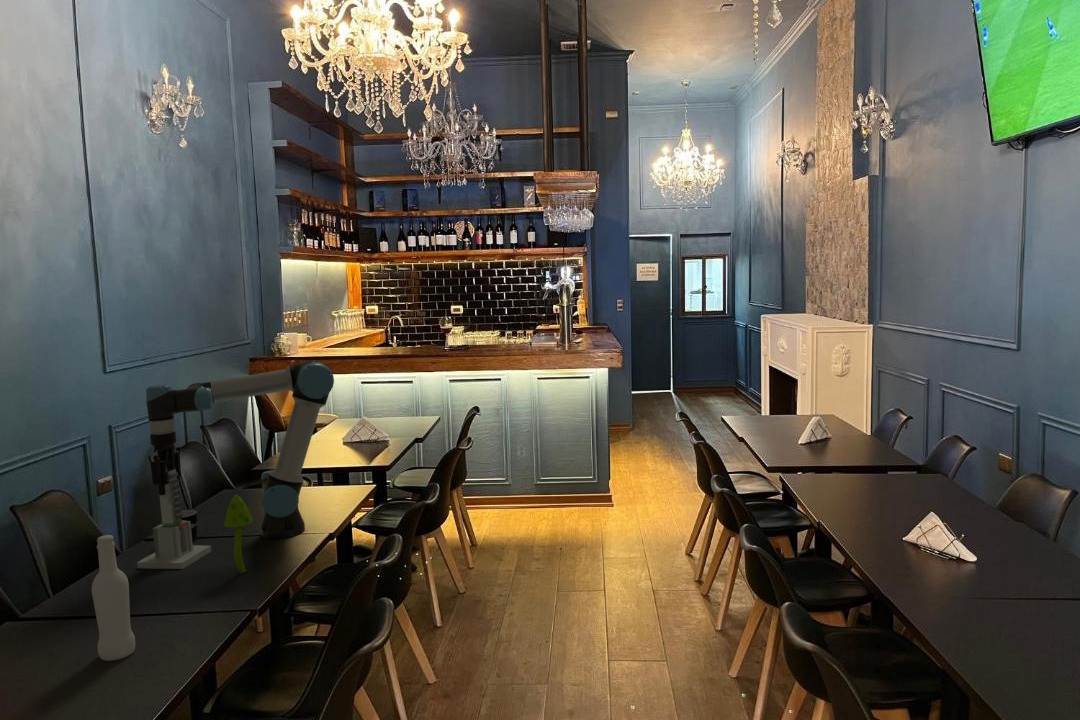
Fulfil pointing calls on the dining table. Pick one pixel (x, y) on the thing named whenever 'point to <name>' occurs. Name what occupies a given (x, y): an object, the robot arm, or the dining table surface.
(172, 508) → the column
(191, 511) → the mug
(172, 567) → the stand base
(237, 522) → the mushroom
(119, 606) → the bottle
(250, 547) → the dining table surface
